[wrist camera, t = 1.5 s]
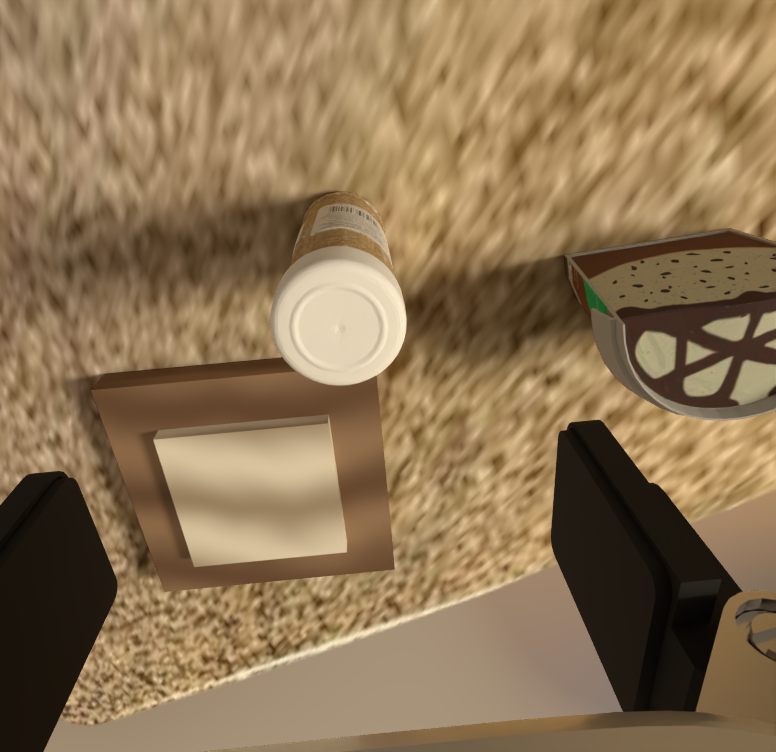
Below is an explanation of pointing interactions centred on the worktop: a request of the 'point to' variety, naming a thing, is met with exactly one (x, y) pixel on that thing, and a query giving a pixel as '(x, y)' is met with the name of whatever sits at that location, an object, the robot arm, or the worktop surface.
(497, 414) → the worktop surface
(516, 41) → the worktop surface
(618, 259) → the food container
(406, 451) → the worktop surface
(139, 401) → the stacking base
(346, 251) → the sprinkles bottle
